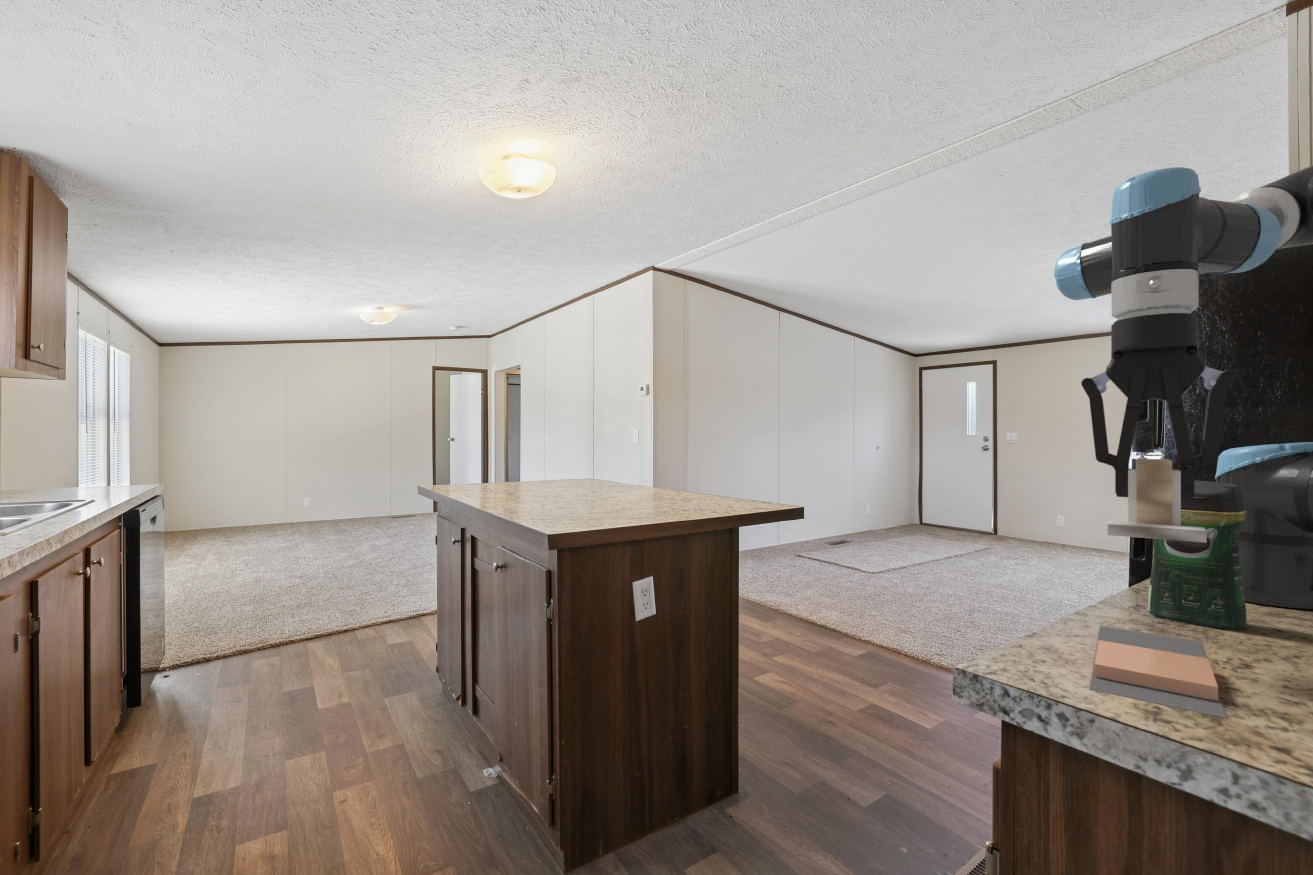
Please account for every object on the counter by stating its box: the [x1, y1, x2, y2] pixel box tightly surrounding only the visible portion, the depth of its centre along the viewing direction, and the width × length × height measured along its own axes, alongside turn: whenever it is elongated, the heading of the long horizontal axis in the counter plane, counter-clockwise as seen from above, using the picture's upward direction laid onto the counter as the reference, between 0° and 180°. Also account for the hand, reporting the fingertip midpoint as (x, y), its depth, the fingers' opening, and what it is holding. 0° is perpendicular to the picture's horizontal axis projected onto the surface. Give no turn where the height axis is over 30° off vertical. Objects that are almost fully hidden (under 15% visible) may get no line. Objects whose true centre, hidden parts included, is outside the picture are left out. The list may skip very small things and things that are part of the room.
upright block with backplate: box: [1107, 458, 1207, 543], centre depth 67 cm, size 8×8×8 cm
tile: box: [1094, 639, 1219, 701], centre depth 61 cm, size 9×1×9 cm
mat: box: [1088, 625, 1228, 719], centre depth 64 cm, size 10×24×1 cm, turn 142°
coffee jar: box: [1147, 480, 1247, 631], centre depth 80 cm, size 10×8×19 cm
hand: (1153, 527), depth 68 cm, fingers closed on upright block with backplate, 3 cm apart
